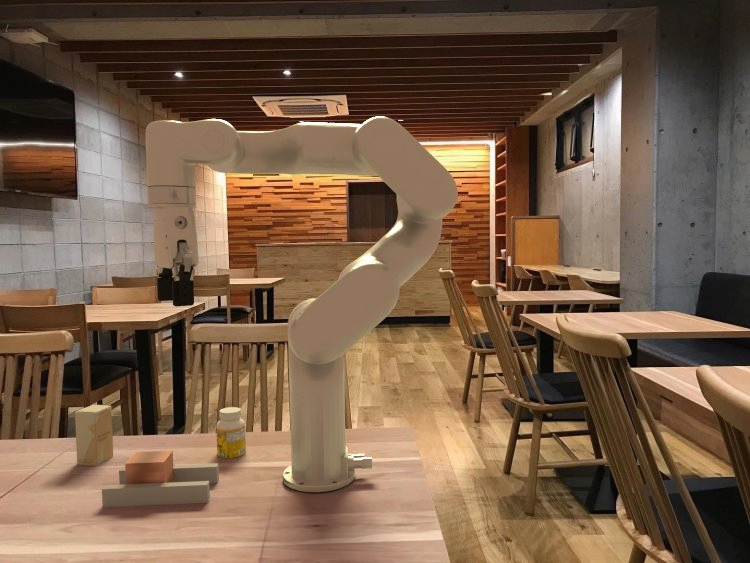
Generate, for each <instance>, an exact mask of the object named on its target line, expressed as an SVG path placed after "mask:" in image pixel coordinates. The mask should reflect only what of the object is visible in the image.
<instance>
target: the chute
mask: <svg viewBox="0 0 750 563" xmlns="http://www.w3.org/2000/svg"><path fill="white" fill-rule="evenodd" d="M219 469H220V468H219V463H195V464H193V463H192V464H173V470H174V482H171V483H147V484H126V472H125V466H121V468H120V469H119V470H118V476H119V477H118V478H119V479H118V480H119V482H118V483H119V484H106V485H104V486H103V487H102V488H101V499H102V500H101V502H102V508H112V507H113V508H114V507H134V506H135V507H137V506H138V507H139V506H158V505H159V506H161V505H182V504H183V505H184V504H187V505H188V504H205V503H207V504H208V503H209V501H210V499H211V491H210V490H211V489H210V487H211V486H210V484H218V483H219V480H220V473H219Z"/></svg>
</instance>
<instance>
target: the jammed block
mask: <svg viewBox="0 0 750 563" xmlns="http://www.w3.org/2000/svg"><path fill="white" fill-rule="evenodd" d="M173 453H174V452H173V450H158V451H157V450H156V451H155V450H154V451H153V450H152V451H151V450H150V451H136V452H134V453H133V455H132V456H130V457H129V459H128V460H127V461H126V462H125V464H124V467H125V472H126V484H147V483H171V482H174V470H173V465H174V454H173Z"/></svg>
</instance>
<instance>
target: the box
mask: <svg viewBox="0 0 750 563" xmlns="http://www.w3.org/2000/svg"><path fill="white" fill-rule="evenodd" d="M112 409H113V408H112V405H105V404H103V405H102V404H92V405H89V406H87V407H84V408H81V409H79V410H77V411H75V412H74V418H75V420H74V421H75V443H76V444H75V445H76V465H81V466H90V467H91V466H99V465H101V464H103V463H104V462H107V461H108V460H109V459H111V458H113V457H114V441H113V440H114V438H113V413H112Z"/></svg>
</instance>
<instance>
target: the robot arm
mask: <svg viewBox="0 0 750 563" xmlns="http://www.w3.org/2000/svg"><path fill="white" fill-rule="evenodd" d="M145 156H146V157H145V158H146V159H145V160H146V183H147V184H146V185H147V186H146V187H147V208H148V209H153V251H154V254H153V255H154V263H155V265H156V266H157V271H156V277H157V278H156V285H157V286H156V290H157V292H156V293H157V300H158V302H169V301H172V305H173V306H174V307H177V308H178V307H188V306H189V307H190V306H194V304H195V291H194V285H195V284H194V277H195V276H194V272H193V271H194V269H195V268H197V267H198V266H199V262H200V261H199V248H198V236H197V234H198V233H197V223H196V216H195V210H194V209H197V193H196V192H197V190H196V189H197V187H196V165H203V166H206V167H208V168H209V169H211V170H212V171H214V172H218V173H220V174H222V173H223V174H237V175H238V174H243V175H246V174H247V175H277V174H278V175H279V174H280V175H343V176H345V175H346V176H378V178H380V179H381V180H382V181H383V182H384V184H386V185H387V186H388V187H389V188H390V189H391V190H392V192H394V193H395V194H396V204H397V205H396V206H397V210H398V213H397V218H396V221H395V223H394V225H393V226H392V227H391V229H390V230H389V231H388V232H387V233H386V234H385V235H383V236H382V237H381V238H380V239H379V240H378V241H377V242H376V243H375V244H373V246H371V247H370V248H369V249H367V251H365V252H364V253H363V254H362V255H360V256H359V257H357V259H355V260H353V261H352V262H350V263H349V264H347V266H345V267H344V268H343V269H342V270H341V273H340V274H339V276H338V279H337V280H336V281H335V282H334V283H333V284H331V286H329V287H328V288H327V289H325V290H324V292H322V293H321V294H320V295H319V296H317V297H316V298H312V297H311V298H308V299H305V300H303V301H301V302H300V303H298V304H297V305H296V306H295V307H294V308H293V309H292V311H291V313H290V315H289V317H288V320H287V329H286V330H287V343H288V345H287V346H288V370H289V372H288V374H289V376H288V377H289V409H290V410H289V418H290V420H289V422H290V423H289V424H290V457H291V458H290V460H291V461H290V462H291V464H290V465H289V466H288V467H286V468H285V469H284V471H283V472H282V482H283V483H284V485H285V486H287V487H288V488H290V489H292V490H294V491H295V490H296V491H299V492H305V493H326V492H331V491H337V490H339V489H342V488H344V487H347V486H348V485H350V484H351V483H352V482H353V481H354V480H355V477H356V469H362V470H365V469H367V470H368V469H373V459H372V458H373V457H372V456H371V457H370V456H369V457H368V456H367V457H366V456H365V453H357V454H352V452H348V446H347V445H346V407H345V406H346V403H345V402H346V401H345V400H346V395H345V393H346V392H345V388H346V387H345V384H346V383H345V382H346V380H345V358H344V356H345V355H344V354H345V353H346V352H347V351H349V349H351V348H352V347H353V346H355V345H356V344H357V343H358V342H359V341H360V340H362V339H363V338H364V337H365V336H367V334H369V333H370V332H371V331H372V330H373V329H375V328H376V327H377V326H378V325H379V324H380V323H381V322H382V321H384V320H385V319H386V318H388V316H389V315H390V314H391V312H392V311H393V310H394V308H395V307H396V306H397V303H398V301H399V297H400V290H401V287H402V286H404V284H405V283H406V282H407V281H409V280H410V279H411V278H412V277H413V276H414V275H416V273H417V272H419V270H421V268H423V267H424V265H425V264H427V262H428V261H429V260H430V259H431V258H432V256H433V255H434V253H435V252H436V250H437V248H438V246H439V243H440V239H441V235H442V231H443V218H445V217H446V216H447V215H449V214H450V213H451V212H452V210H453V209H454V208H455V206H456V204H457V201H458V195H459V194H458V193H459V192H458V191H459V190H458V185H457V184H456V183H457V182H456V180H455V178H454V177H453V175H452V174H451V173H450V171H449V170H448V169H447V168H446V167H445V166H444V165H443V164H442V163H440V161H438V160H437V158H436V157H435V156H433V154H432V153H431V152H429V151H428V150H427V149H426V148H425V147H424V146H423V145H422V144H421V143H420V142H419V141H418V140H417V139H416V138H415V137H414V136H413V135H412V134H411V133H410V132H409V131H408V130H407V129H406V128H405V127H403V126H402V124H400V123H399V122H397V121H396V120H394V119H392V118H390V117H387V116H375V117H374V116H373V117H371V118H369V119H367V120H366V121H364V122H363V123H361V124H360V123H339V122H338V123H335V122H329V123H328V122H312V121H311V122H310V121H305V122H300V123H299V122H298V123H296V124H293V125H290V126H288V127H286V128H282V129H278V130H269V131H268V130H267V131H244V130H243V131H242V130H241V131H240V130H237V129H236V128H235V127H234V126H233V125H232V124H231V123H229V122H228V121H226V120H223V119H216V118H211V119H210V118H209V119H202V120H196V121H194V120H193V121H185V122H182V121H177V120H155V121H152V122H150V123H148V124H147V126H146V128H145Z"/></svg>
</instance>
